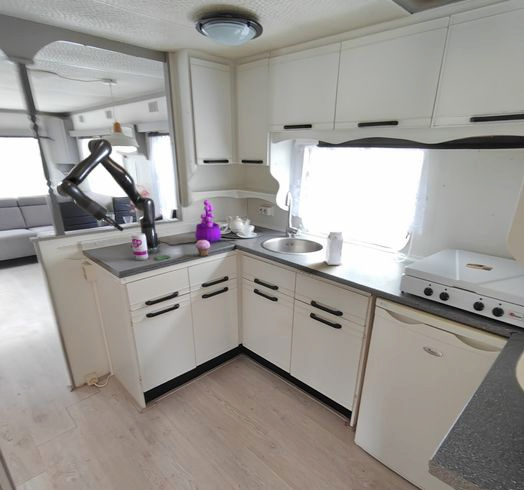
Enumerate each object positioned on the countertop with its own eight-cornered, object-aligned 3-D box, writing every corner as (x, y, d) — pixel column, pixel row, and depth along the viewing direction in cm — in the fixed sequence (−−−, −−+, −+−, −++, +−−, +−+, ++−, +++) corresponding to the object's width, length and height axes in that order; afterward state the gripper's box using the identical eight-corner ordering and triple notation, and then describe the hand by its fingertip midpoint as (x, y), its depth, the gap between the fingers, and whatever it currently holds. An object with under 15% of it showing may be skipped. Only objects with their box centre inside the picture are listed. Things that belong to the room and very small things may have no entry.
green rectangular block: (166, 256, 203) (165, 254, 202) (169, 257, 201) (168, 255, 200) (154, 259, 198) (154, 257, 197) (157, 260, 195) (157, 258, 195)
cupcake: (200, 258, 201) (199, 242, 197) (194, 254, 207) (193, 239, 204) (212, 255, 206) (212, 240, 202) (206, 252, 212) (205, 237, 208)
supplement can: (144, 260, 194) (140, 236, 189) (131, 259, 196) (128, 235, 190) (151, 257, 202) (148, 233, 196) (138, 256, 203) (135, 232, 197)
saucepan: (162, 250, 216) (161, 244, 214) (153, 254, 206) (152, 249, 204) (136, 248, 220) (135, 242, 219) (126, 252, 210) (125, 246, 209)
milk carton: (325, 261, 199) (328, 230, 192) (336, 261, 199) (339, 230, 192) (328, 265, 192) (331, 233, 185) (340, 264, 193) (343, 233, 186)
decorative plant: (202, 237, 249) (200, 197, 237) (225, 239, 244) (223, 198, 233) (191, 243, 232) (187, 201, 220) (215, 246, 227) (213, 202, 216)
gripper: (102, 206, 171) (129, 226, 182) (97, 203, 181) (123, 222, 192) (93, 217, 170) (121, 237, 181) (88, 213, 180) (115, 232, 191)
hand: (122, 229), depth 187 cm, fingers closed
